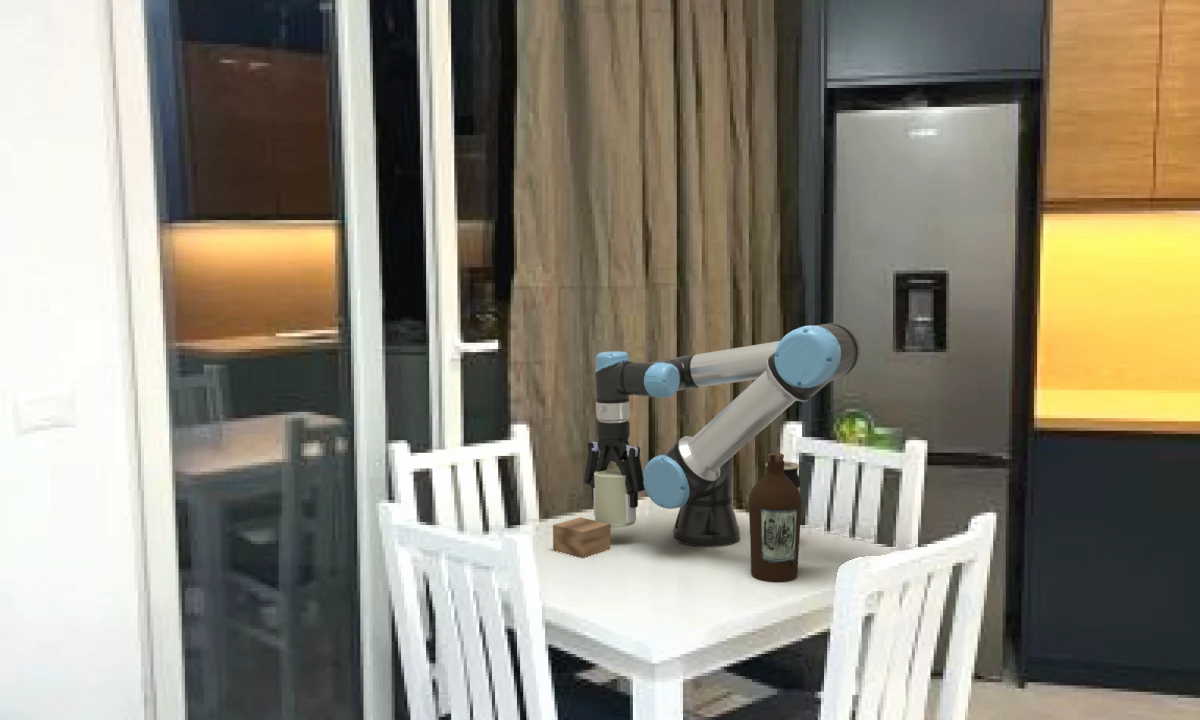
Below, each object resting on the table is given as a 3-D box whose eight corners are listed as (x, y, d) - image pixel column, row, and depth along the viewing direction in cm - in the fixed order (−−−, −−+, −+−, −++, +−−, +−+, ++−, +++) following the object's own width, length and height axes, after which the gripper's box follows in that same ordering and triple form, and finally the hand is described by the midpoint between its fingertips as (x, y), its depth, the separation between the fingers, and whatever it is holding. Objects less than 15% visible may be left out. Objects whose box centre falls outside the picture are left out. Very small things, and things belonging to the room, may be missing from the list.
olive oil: (743, 567, 223) (744, 449, 221) (794, 567, 224) (796, 449, 221) (753, 583, 213) (754, 459, 210) (806, 582, 213) (808, 459, 211)
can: (593, 518, 248) (592, 467, 247) (632, 517, 249) (631, 466, 248) (596, 528, 239) (595, 475, 238) (637, 526, 240) (636, 473, 239)
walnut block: (610, 550, 237) (610, 524, 237) (583, 559, 231) (583, 532, 230) (580, 543, 243) (580, 517, 243) (553, 551, 237) (552, 525, 236)
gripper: (566, 418, 246) (568, 514, 248) (639, 426, 232) (641, 528, 234) (588, 414, 252) (590, 508, 254) (660, 422, 238) (662, 522, 240)
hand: (614, 518), depth 244 cm, fingers closed on can, 9 cm apart
